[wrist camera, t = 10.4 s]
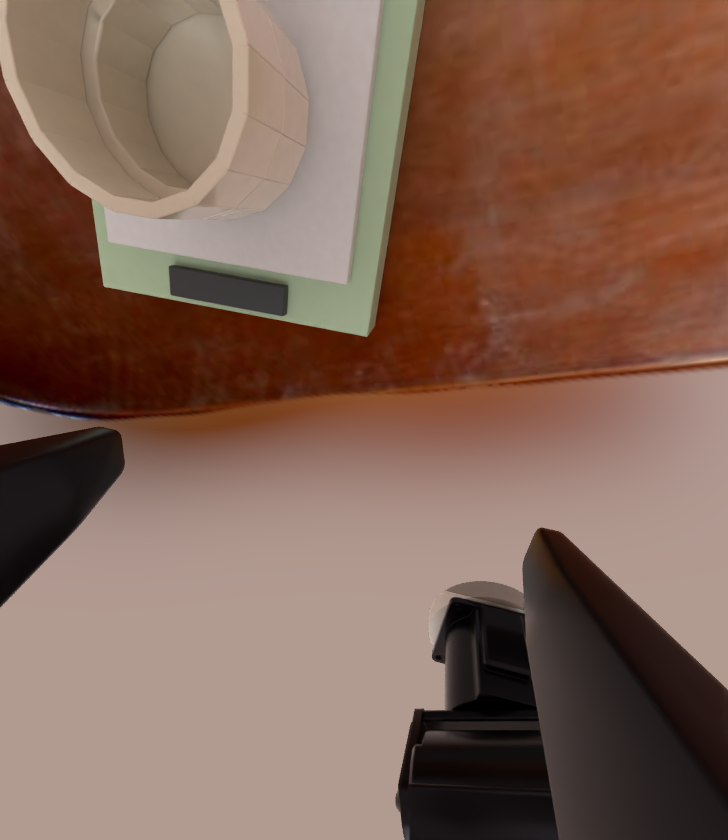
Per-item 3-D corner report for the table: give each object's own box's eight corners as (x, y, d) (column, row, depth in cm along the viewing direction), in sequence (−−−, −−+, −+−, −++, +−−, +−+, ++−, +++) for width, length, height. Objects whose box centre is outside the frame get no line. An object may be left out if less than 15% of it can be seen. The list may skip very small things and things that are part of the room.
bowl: (305, 232, 15) (246, 234, 11) (144, 204, 16) (26, 197, 11) (322, -2, 12) (250, -130, 8) (124, -23, 13) (-45, -154, 8)
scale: (374, 326, 19) (364, 341, 16) (133, 281, 20) (92, 288, 18) (431, -36, 13) (428, -91, 11) (96, -69, 15) (30, -124, 12)
